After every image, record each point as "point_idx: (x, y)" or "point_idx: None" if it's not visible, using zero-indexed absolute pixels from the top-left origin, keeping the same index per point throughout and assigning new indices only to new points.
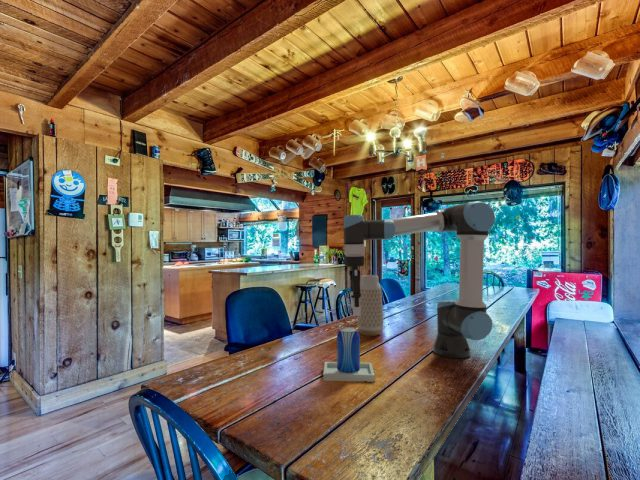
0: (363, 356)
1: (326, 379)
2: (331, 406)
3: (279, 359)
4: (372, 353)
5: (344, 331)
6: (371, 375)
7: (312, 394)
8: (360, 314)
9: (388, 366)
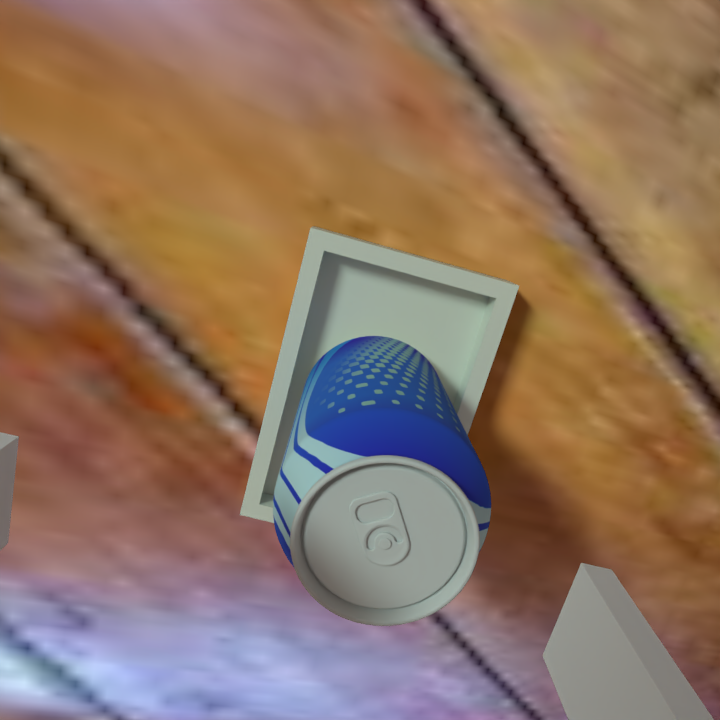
0: (76, 196)
1: None
2: (688, 559)
3: (77, 700)
4: (14, 100)
5: (452, 598)
6: (512, 304)
7: (553, 610)
8: (617, 584)
9: (298, 87)
